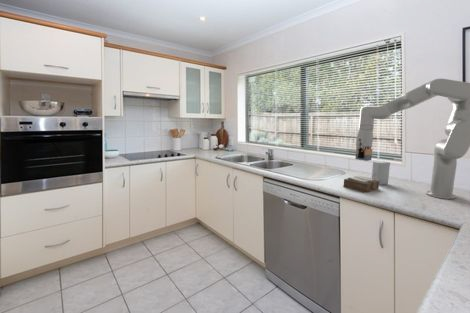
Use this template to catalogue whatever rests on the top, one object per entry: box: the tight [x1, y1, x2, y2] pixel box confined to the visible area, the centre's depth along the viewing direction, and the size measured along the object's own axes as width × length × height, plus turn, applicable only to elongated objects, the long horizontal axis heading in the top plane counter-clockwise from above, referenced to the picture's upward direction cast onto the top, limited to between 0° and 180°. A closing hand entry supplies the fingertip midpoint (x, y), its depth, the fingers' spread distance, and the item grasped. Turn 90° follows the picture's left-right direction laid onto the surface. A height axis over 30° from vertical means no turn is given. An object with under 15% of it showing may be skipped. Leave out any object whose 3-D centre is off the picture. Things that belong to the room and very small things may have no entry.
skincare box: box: [371, 160, 391, 186], centre depth 162 cm, size 8×6×15 cm
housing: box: [354, 147, 373, 162], centre depth 149 cm, size 5×7×7 cm
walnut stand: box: [343, 175, 380, 193], centre depth 152 cm, size 14×14×6 cm
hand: (363, 157), depth 149 cm, fingers closed on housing, 5 cm apart
